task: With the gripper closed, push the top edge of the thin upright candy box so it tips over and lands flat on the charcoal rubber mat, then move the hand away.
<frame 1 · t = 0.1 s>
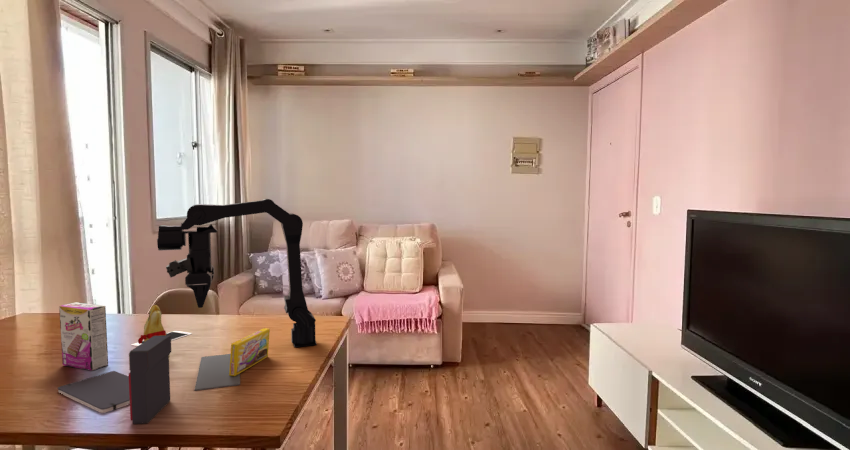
hand: (201, 303, 140), 15 cm above the table, tool pointing down, fingers open, 9 cm apart
cell phone: (162, 341, 155), on the table
dark grey upright slab: (152, 413, 105), on the table
mat: (219, 370, 129), on the table
notebook: (109, 395, 115), on the table
candy box: (249, 366, 131), on the table, touching mat
candy bar box: (85, 366, 132), on the table
chocolate bunny: (153, 359, 137), on the table
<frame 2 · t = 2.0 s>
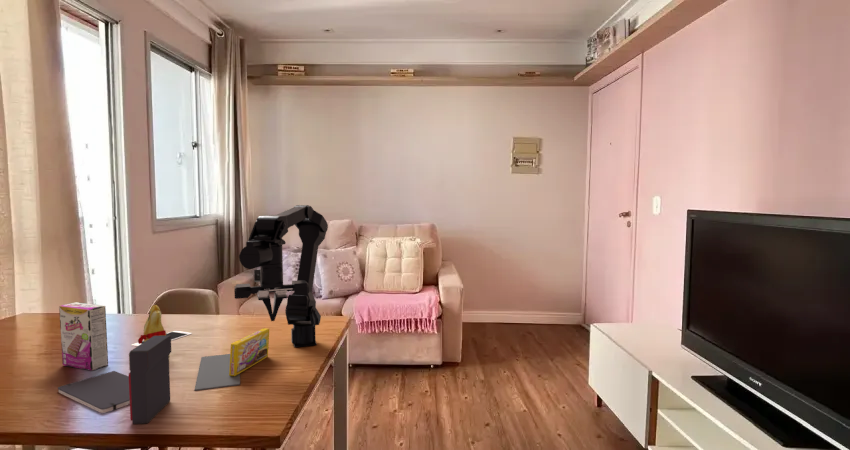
hand: (272, 320, 133), 12 cm above the table, tool pointing down, fingers closed
nothing on the table moved.
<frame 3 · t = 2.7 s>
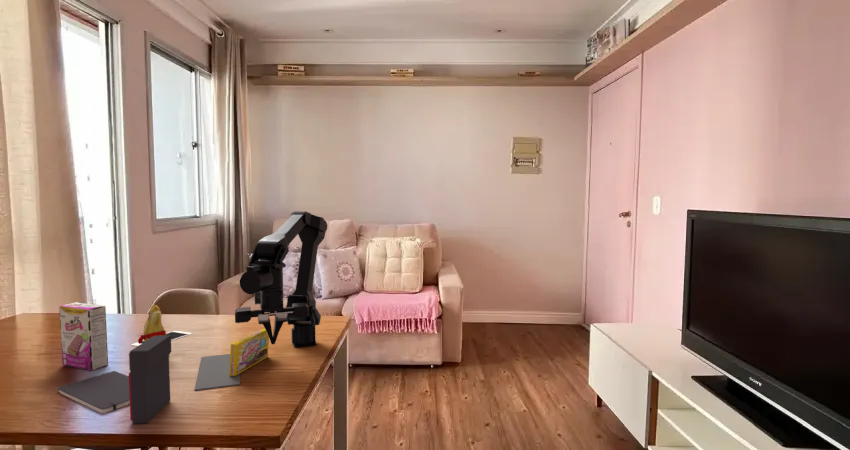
hand: (273, 343, 133), 6 cm above the table, tool pointing down, fingers closed
nothing on the table moved.
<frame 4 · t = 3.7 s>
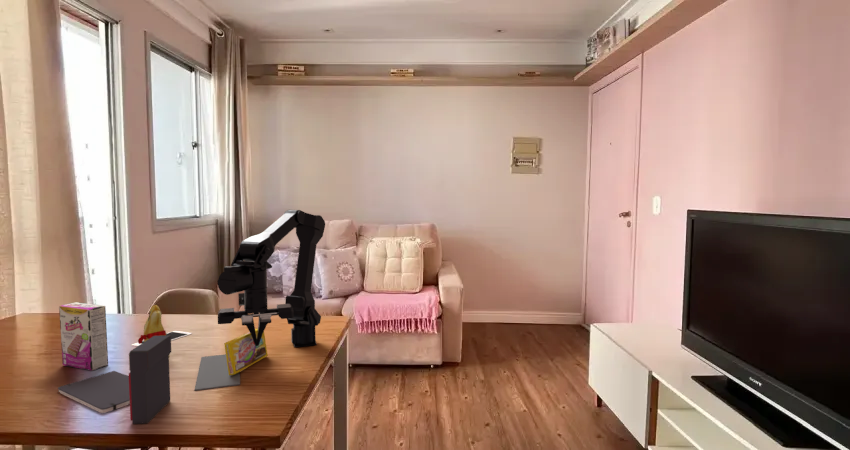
hand: (256, 345, 131), 6 cm above the table, tool pointing down, fingers closed
candy box: (250, 366, 131), on the table, touching gripper, mat
everything else where it was.
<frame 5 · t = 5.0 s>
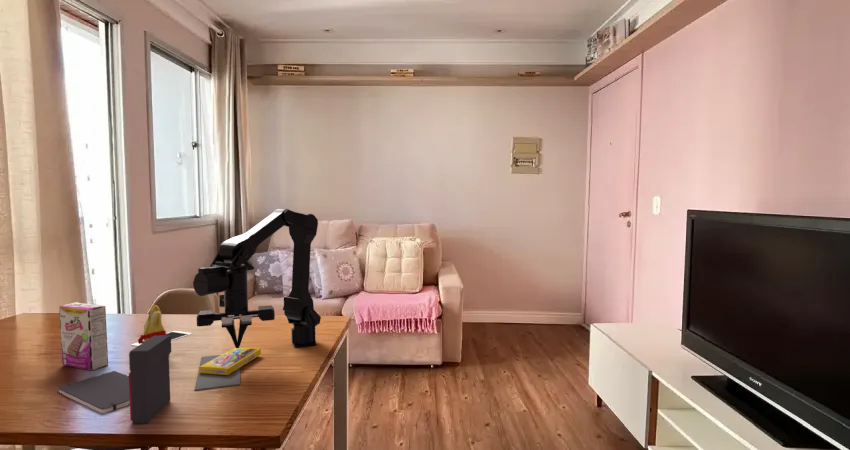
hand: (237, 347, 130), 6 cm above the table, tool pointing down, fingers closed
candy box: (246, 360, 132), point 2 cm above the table, touching mat
everything else where it was.
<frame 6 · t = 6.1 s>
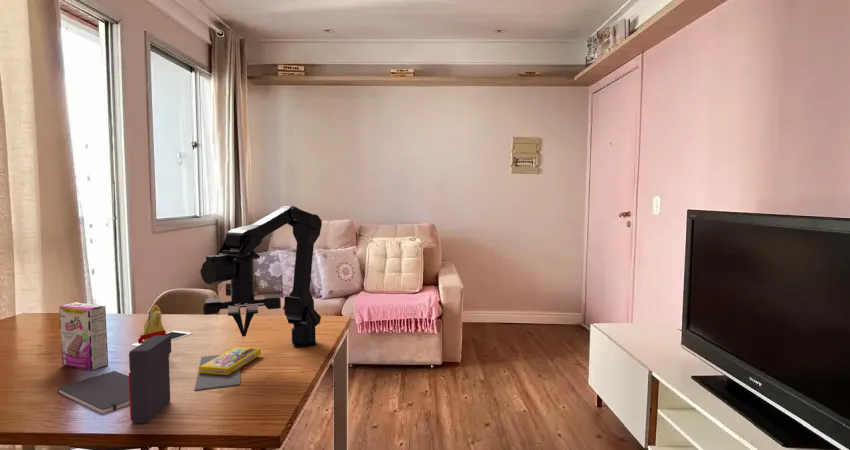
hand: (243, 336, 130), 8 cm above the table, tool pointing down, fingers closed
nothing on the table moved.
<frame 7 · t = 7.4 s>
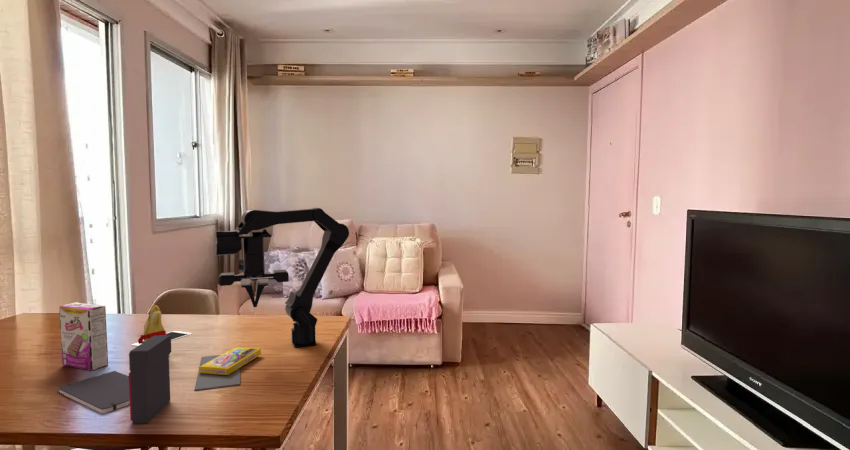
hand: (255, 306, 143), 13 cm above the table, tool pointing down, fingers closed
nothing on the table moved.
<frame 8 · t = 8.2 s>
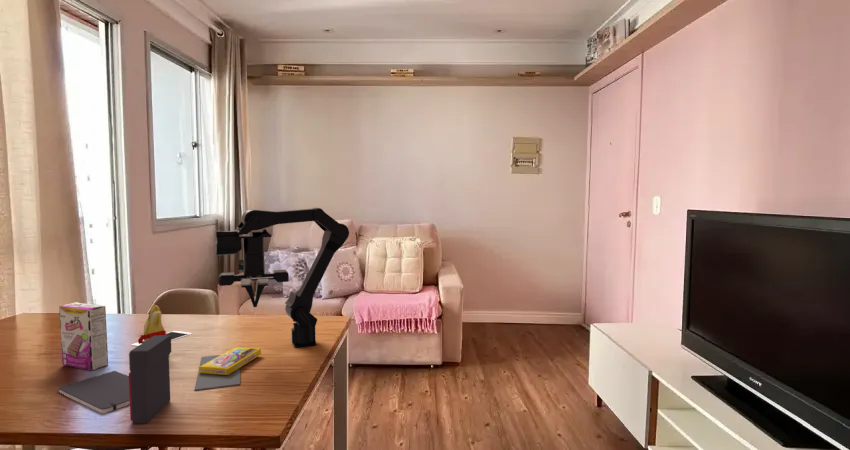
hand: (255, 306, 143), 13 cm above the table, tool pointing down, fingers closed
nothing on the table moved.
at the end: candy box tilted 93°; candy box 6.6 cm from the mat (horizontally); the gripper is holding nothing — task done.
